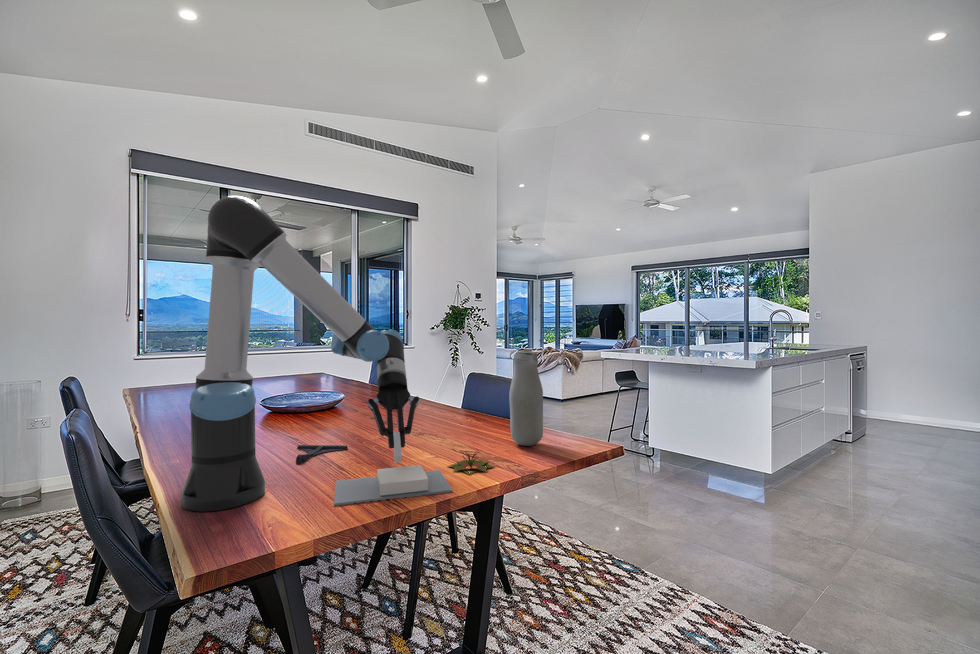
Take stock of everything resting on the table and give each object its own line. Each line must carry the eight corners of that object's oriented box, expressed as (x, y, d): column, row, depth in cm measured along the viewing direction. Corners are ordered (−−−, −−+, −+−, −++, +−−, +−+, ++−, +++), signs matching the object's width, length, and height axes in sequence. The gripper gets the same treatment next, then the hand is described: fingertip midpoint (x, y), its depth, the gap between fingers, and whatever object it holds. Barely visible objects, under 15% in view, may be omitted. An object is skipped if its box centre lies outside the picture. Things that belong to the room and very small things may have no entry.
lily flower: (437, 468, 116) (437, 450, 116) (474, 459, 124) (474, 442, 124) (467, 481, 107) (467, 461, 107) (505, 469, 115) (504, 451, 115)
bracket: (271, 466, 120) (271, 455, 120) (299, 450, 135) (299, 440, 135) (325, 467, 119) (325, 456, 119) (347, 451, 133) (347, 441, 133)
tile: (377, 481, 104) (380, 497, 95) (377, 469, 104) (380, 484, 95) (421, 476, 107) (428, 491, 98) (421, 464, 107) (428, 478, 98)
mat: (333, 506, 92) (333, 503, 91) (335, 482, 105) (335, 480, 105) (452, 492, 99) (452, 489, 99) (439, 471, 112) (439, 469, 112)
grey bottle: (543, 440, 140) (542, 349, 140) (543, 450, 130) (543, 351, 130) (510, 440, 141) (510, 349, 141) (508, 449, 131) (508, 351, 131)
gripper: (366, 370, 118) (369, 453, 102) (417, 368, 121) (427, 448, 105) (366, 388, 123) (368, 470, 107) (415, 386, 126) (424, 464, 111)
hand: (398, 459), depth 106 cm, fingers closed
